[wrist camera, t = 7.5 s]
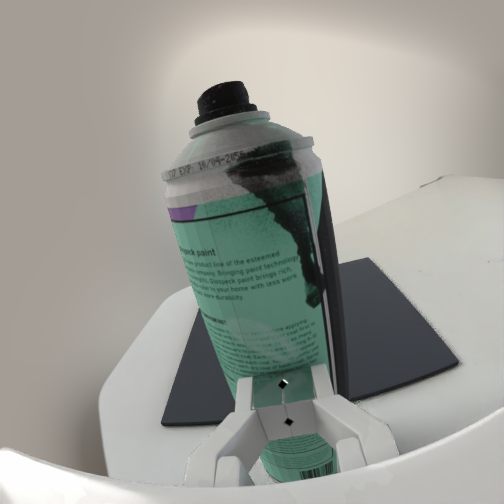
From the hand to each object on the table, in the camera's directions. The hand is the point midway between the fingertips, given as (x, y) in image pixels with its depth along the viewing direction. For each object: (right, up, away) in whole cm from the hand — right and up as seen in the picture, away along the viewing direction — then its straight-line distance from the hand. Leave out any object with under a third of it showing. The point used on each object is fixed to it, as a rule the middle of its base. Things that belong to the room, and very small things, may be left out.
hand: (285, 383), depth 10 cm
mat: (+4, -3, +21) cm, 21 cm away
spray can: (+2, -8, +6) cm, 11 cm away
